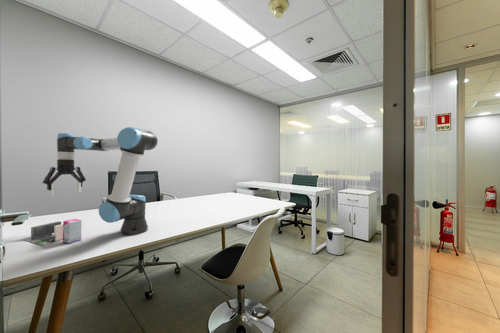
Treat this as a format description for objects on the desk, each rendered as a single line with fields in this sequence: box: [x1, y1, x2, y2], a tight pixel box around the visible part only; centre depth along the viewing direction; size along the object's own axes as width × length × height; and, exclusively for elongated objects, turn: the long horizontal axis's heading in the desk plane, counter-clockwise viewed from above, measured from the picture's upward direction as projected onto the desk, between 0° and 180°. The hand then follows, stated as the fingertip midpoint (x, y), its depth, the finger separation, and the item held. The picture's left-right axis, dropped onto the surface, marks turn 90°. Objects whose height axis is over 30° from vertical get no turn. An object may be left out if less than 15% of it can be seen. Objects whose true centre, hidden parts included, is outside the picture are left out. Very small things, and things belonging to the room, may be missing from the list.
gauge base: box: [23, 221, 63, 247], centre depth 110 cm, size 18×16×6 cm
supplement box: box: [62, 218, 83, 245], centre depth 107 cm, size 6×6×12 cm
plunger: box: [42, 223, 63, 242], centre depth 108 cm, size 8×13×8 cm, turn 161°
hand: (65, 194), depth 119 cm, fingers open, 13 cm apart
